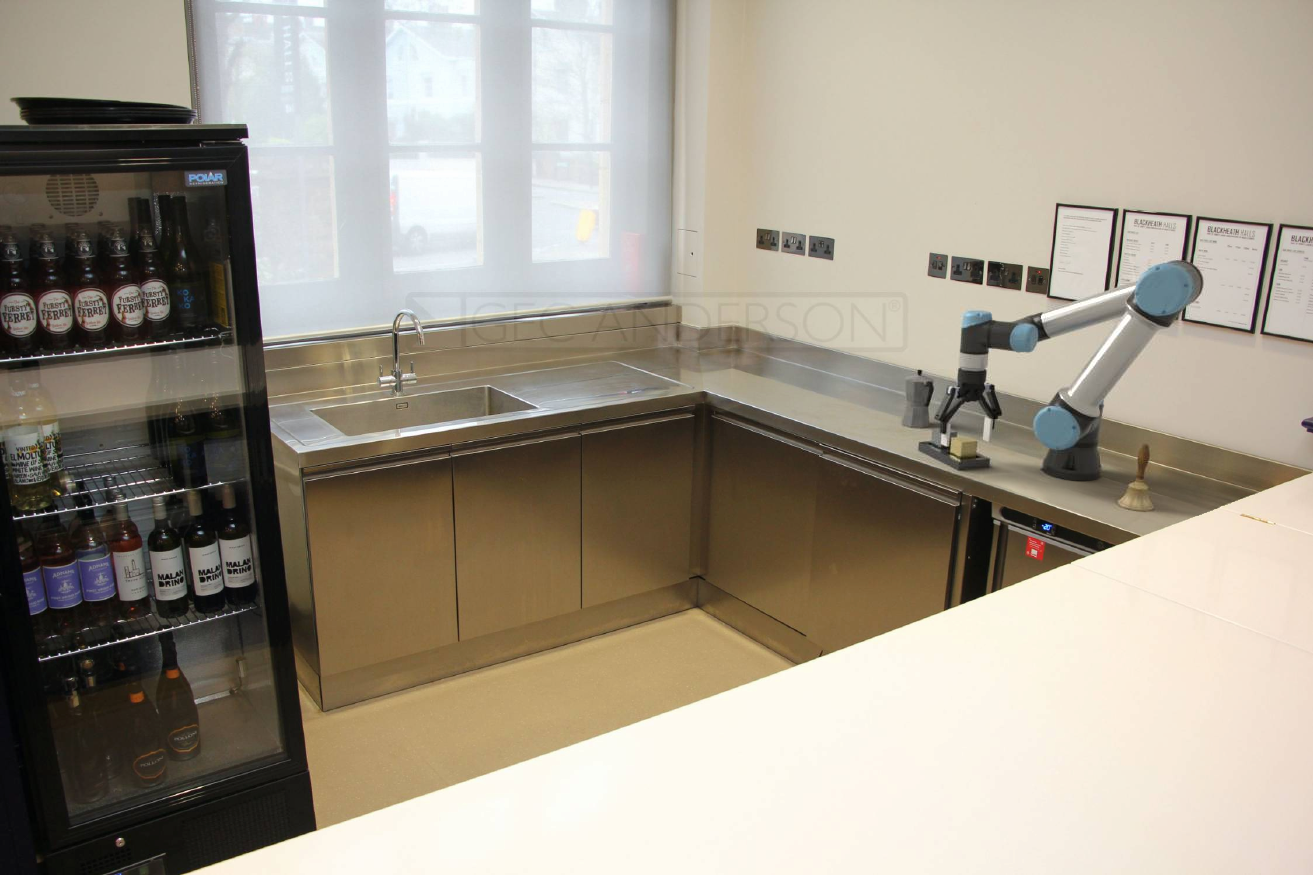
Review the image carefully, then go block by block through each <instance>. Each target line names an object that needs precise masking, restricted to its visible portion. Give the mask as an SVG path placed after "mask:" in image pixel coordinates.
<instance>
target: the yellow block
mask: <svg viewBox="0 0 1313 875" xmlns="http://www.w3.org/2000/svg"><path fill="white" fill-rule="evenodd" d="M977 450H978V440H977V439H974V438H972V437H970V436H966V435H965V436H957V437H953V438H952V439H951V449H950V455H952V456H954V457H956V458H958V459H960V460H963V459H973V458H976V452H977ZM977 453H978V452H977Z"/></svg>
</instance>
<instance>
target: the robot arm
mask: <svg viewBox="0 0 1313 875" xmlns="http://www.w3.org/2000/svg"><path fill="white" fill-rule="evenodd" d="M1204 284H1205V283H1204V275H1203V274H1202V272H1201V270H1200V269H1199V267H1198V266H1196V265H1195V264H1194V263H1192V262H1189V261H1187V260H1182V259H1178V260H1171V261H1167V262H1162V263H1158V264H1156V265H1153V266H1152V267H1149V268H1148V269H1147V270H1145V271H1144V272H1143V273H1142V274H1141V275H1140V276H1139V278H1138V279H1137V280H1135V281H1133V282H1128V283H1126V284H1122V285H1120V286H1117V287H1115V288H1110V289H1108V290H1105V291H1102V292H1099V293H1096V294H1093V295H1090V296H1089V295H1088V296H1087V297H1084V298H1080V299H1078V300H1073V301H1072V302H1071V301H1070V302H1068V303H1065V304H1062V305H1060V306H1055V307H1052V308H1051V309H1047V310H1045V311H1042V312H1038V313H1034V314H1031V315H1027V316H1025V317H1023V318H1020V319H1017V320H1014V321H1003V320H1002V321H1001V320H996V319H993V314H992V313H991V312H990V311H987V310H976V309H975V310H973V309H971V310H967V311H966V312H963V316H962V321H961V322H962V323H961V327H960V329H961V331H960V346H959V353H958V354H959V357H958V366H959V367H958V368H957V378H956V379H957V386H951V385H948V386H947V387H946V391H945V394H944V397H943V399H942V401H941V402H940V405H939V407H938V408H937V410H936V413H935V414H934V416H933V419H934V420H935V421H938V422H940V425H939V426H940V427H939V428H940V433H942V436H941V444H942V445H945V446H949V438H950V429H951V425H952V424H951V422H950V420H951V419H952V418H953V417H954V416H955V414H956V413H957V411H958V410H959V409H960V408H961V406H962V405H964V404H965V403H971V402H974V403H975V402H976V403H978V404H979V406H980V407H981V408H982V410H983V411H984V413H985V414H986V416H987V417H986V416H985V417H984V422H983V423H984V424H983V432H982V433H983V434H982V441H985V442H987V443H992V434H993V430H994V429H995V425H996V424H995V423H996V420H998V419H999V417H1002V416H1003V412H1002V409H1001V406H1000V403H999V401H998V397H997V394H996V388H995V384H993V383H990V382H986V381H987V375H988V374H987V373H988V371H987V368H988V362H989V353H990V352H989V349H992V350H1001V351H1007V352H1009V351H1010V352H1015V353H1031V352H1033V351H1034V350H1035V349H1036V346H1037V345H1038V343H1040V342H1043V341H1046V340H1050V339H1052V338H1056V337H1059V336H1062V335H1066V334H1070V333H1072V332H1075V331H1079V330H1082V329H1085V328H1090V327H1092V326H1095V325H1099V324H1102V323H1105V322H1109V321H1112V320H1115V319H1119V318H1120V319H1119V320H1118V321H1117V323H1116V324H1115V325H1114V327H1113V328H1112V330H1111V331H1110V332H1109V334H1108V335H1107V336H1106V338H1105V339H1103V342H1102V343H1101V344H1100V346H1099V347H1098V348H1097V350H1096V351H1095V352H1094V353H1093V355H1092V356H1091V357H1090V359H1089V360H1088V361H1087V362H1086V364H1085V366H1083V368H1082V369H1081V370H1080V372H1079V373H1078V374H1077V376H1076V377H1075V379H1074V380H1072V383H1070V385H1069V386H1066V387H1065V386H1064V387H1061V388H1060V389H1058V391H1057V392H1056V393H1055V394H1054V396H1053V397H1052V399H1051V400H1050V401H1049V402H1048V404H1047V405H1046V406H1045V407H1043V408H1041V409H1040V410H1038V413H1037V414H1036V415H1035V418H1033V425H1032V428H1033V432H1034V435H1035V437H1036V438H1037V440H1038V441H1039V442H1040V443H1041V445H1043V446H1045V447H1046V448H1048V451H1047V453H1046V455H1045V457H1044V458H1043V460H1042V464H1041V470H1042V472H1044V473H1045V474H1047V475H1049V476H1052V477H1055V478H1060V479H1064V480H1072V481H1094V480H1097V479H1099V478H1101V476H1102V470H1103V467H1102V464H1101V459H1100V452H1099V449H1098V448H1099V440H1100V435H1101V434H1100V433H1101V427H1102V425H1101V424H1102V420H1103V411H1104V407H1105V399H1106V397H1107V396H1108V394H1110V392H1111V391H1112V389H1114V387H1115V386H1116V385H1117V384H1118V382H1119V381H1120V380H1121V379H1122V377H1123V376H1124V374H1125V373H1126V372H1127V371H1128V370H1129V368H1130V367H1131V365H1133V363H1134V362H1135V361H1136V360H1137V358H1138V356H1140V354H1141V353H1142V352H1143V350H1144V349H1145V348H1146V347H1147V345H1148V344H1149V343H1150V341H1151V340H1152V339H1153V338H1154V337H1155V335H1156V334H1157V332H1159V331H1160V330H1166V329H1169V328H1170V327H1171V326H1172V325H1173V323H1175V321H1176V319H1177V318H1178V317H1180V314H1181V313H1182V312H1183V310H1184V309H1185V308H1186V307H1188V306H1190V305H1191V304H1192V303H1194V302H1195V301H1196V300H1197V299H1198V298H1199V297H1200V296H1201V293H1202V292H1203V288H1204ZM984 392H985V393H986V397H987V398H986V397H985V396H984V395H983V394H984ZM986 399H987V400H988V401H987V400H986ZM988 402H989V403H988Z"/></svg>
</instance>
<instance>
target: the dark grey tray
mask: <svg viewBox="0 0 1313 875" xmlns="http://www.w3.org/2000/svg"><path fill="white" fill-rule="evenodd" d="M917 446H918V448H917V451H918V452H920V453H922V454H924V455H926V456H929V457H930V458H933V459H934V460H936V461H938V462H940V463H942V464H944V465H946V466H948V467H950V468H952V469H954V470H956V471H966V470H968V471H969V470H977V469H987V468H988V469H989V468H990V463H991V458H989V457H988V456H985V455H983V454H981V453H979V452H976V458H973V459H963V460H960V459H958V458H956V457H954V456H952V455H950V449H942V450H939V449H937V448H935V447H933V446H931V440H927V441H918V445H917Z"/></svg>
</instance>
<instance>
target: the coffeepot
mask: <svg viewBox="0 0 1313 875" xmlns="http://www.w3.org/2000/svg"><path fill="white" fill-rule="evenodd" d="M916 371H917V374H915V375H913V374H912V375H907V376H905V377H904V388H905V389H904V390H905V399H906V403H905V405H904V409H903V414H902V417H901V425H902V426H904V427H906V428H913V429H925V428H928V427H930V426H931V423H930V412H929V406H930V404H931V401H932V397H933V395H934V391H935V387H934V381H935V380H934V378H933V377H929V376H925V375H922V374H923V369H917V370H916Z"/></svg>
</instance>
